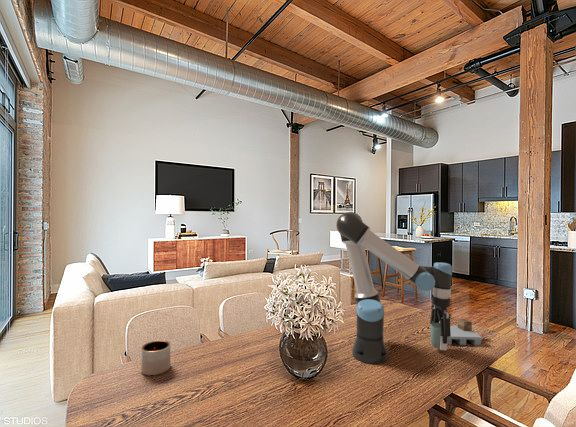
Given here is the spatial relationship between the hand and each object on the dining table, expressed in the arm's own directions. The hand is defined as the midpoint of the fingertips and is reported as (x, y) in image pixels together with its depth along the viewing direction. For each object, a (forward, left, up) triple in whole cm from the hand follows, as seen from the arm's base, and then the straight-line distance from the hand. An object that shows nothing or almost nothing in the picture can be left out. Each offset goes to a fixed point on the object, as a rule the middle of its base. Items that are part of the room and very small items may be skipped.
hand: (439, 345), depth 144 cm
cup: (0, 0, -1) cm, 1 cm away
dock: (+15, +14, -3) cm, 20 cm away
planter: (-122, -22, -3) cm, 124 cm away
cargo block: (+21, +17, +1) cm, 27 cm away
